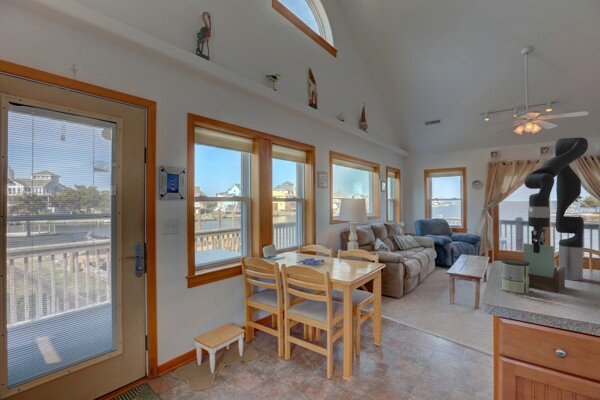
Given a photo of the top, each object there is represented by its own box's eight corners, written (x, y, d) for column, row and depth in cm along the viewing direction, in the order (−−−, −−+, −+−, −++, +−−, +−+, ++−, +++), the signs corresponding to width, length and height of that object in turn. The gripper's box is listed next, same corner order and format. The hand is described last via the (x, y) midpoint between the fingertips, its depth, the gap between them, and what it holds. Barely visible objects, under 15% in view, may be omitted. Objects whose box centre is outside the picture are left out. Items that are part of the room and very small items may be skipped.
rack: (524, 281, 142) (524, 262, 142) (564, 289, 130) (564, 267, 130) (516, 286, 133) (516, 266, 133) (558, 295, 122) (558, 272, 121)
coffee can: (498, 286, 133) (498, 257, 133) (525, 289, 129) (525, 259, 129) (503, 293, 124) (504, 262, 124) (532, 296, 120) (533, 264, 120)
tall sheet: (523, 284, 134) (524, 243, 134) (554, 290, 125) (554, 246, 125) (522, 284, 133) (523, 243, 133) (553, 290, 124) (553, 246, 124)
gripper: (532, 215, 136) (532, 249, 136) (524, 216, 127) (524, 252, 128) (552, 216, 131) (552, 251, 131) (545, 217, 122) (545, 255, 122)
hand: (538, 251), depth 129 cm, fingers open, 6 cm apart
